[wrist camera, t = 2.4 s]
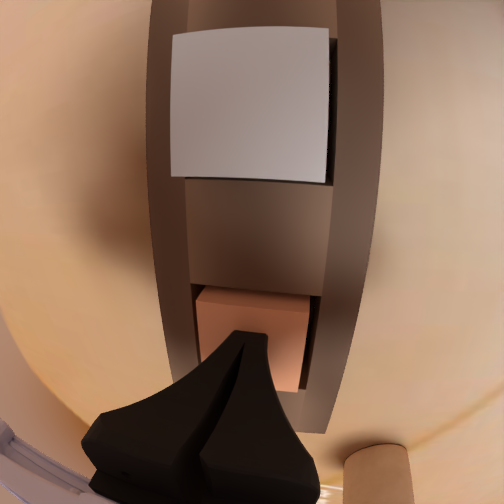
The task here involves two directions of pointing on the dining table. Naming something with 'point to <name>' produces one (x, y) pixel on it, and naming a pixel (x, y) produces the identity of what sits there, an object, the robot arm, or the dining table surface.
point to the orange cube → (257, 326)
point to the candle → (378, 476)
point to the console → (272, 197)
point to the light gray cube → (250, 103)
